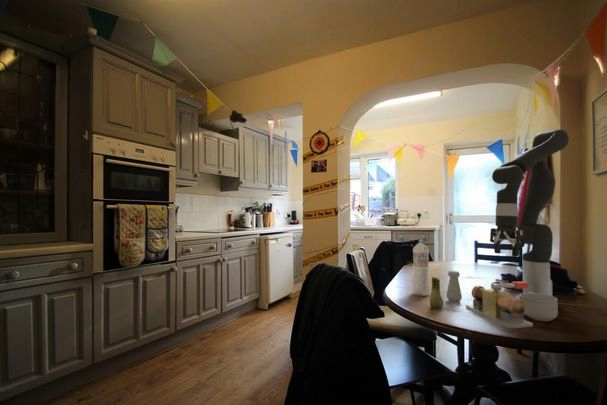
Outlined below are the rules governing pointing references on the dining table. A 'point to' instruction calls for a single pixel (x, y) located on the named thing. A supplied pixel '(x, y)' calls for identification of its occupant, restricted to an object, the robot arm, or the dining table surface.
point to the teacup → (540, 306)
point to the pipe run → (499, 307)
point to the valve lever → (510, 285)
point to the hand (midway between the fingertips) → (506, 254)
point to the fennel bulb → (436, 294)
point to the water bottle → (421, 269)
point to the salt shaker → (454, 287)
